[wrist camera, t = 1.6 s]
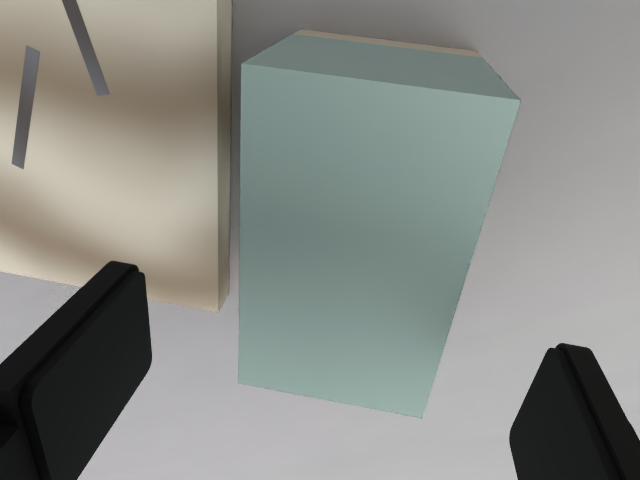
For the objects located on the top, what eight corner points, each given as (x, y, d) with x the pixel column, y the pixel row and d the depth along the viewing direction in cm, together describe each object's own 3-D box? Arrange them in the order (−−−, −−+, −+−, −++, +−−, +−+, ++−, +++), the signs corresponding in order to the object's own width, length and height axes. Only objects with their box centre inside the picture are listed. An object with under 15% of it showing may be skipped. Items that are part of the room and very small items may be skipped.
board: (-213, -355, 13) (-279, -389, 12) (235, -319, 12) (214, -353, 11) (-23, 246, 23) (-48, 262, 22) (229, 293, 22) (218, 313, 21)
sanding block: (300, 28, 16) (240, 63, 10) (476, 50, 16) (520, 100, 10) (284, 267, 21) (238, 383, 15) (416, 289, 21) (422, 418, 15)
